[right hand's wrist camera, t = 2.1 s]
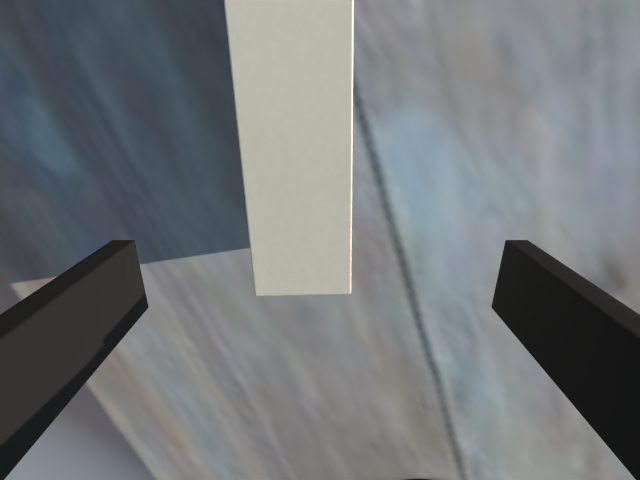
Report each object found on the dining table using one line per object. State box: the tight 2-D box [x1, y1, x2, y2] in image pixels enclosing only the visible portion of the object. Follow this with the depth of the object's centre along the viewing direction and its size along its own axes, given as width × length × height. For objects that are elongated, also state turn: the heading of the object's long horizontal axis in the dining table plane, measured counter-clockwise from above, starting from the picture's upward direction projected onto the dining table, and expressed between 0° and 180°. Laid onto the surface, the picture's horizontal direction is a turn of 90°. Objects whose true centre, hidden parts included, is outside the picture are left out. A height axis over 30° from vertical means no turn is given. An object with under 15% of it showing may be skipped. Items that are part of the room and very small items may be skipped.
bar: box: [224, 0, 354, 296], centre depth 19 cm, size 25×5×10 cm, turn 1°
